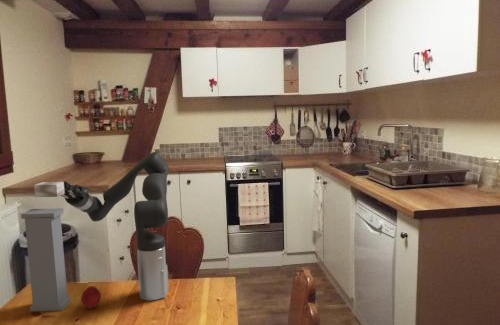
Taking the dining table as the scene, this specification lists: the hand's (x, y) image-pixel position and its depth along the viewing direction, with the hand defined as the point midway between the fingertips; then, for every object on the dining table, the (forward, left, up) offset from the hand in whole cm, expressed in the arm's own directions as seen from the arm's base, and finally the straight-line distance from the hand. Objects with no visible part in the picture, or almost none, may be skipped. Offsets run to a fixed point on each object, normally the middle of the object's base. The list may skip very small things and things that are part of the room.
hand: (59, 184), depth 126 cm
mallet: (0, +2, -2) cm, 3 cm away
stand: (0, +12, -38) cm, 40 cm away
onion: (-14, +14, -39) cm, 43 cm away
